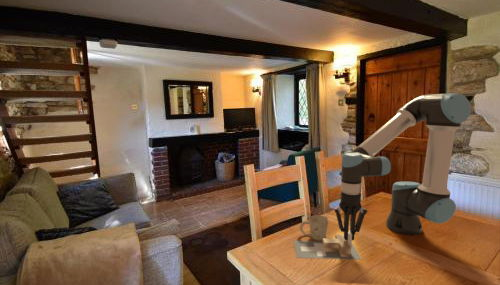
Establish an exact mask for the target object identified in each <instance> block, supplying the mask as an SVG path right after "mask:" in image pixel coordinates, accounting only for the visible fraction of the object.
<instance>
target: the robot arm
mask: <svg viewBox="0 0 500 285" xmlns="http://www.w3.org/2000/svg"><path fill="white" fill-rule="evenodd" d="M471 113H472V106H471V102H470V101H469V99H467V97H466V95H463V94H462V93H461V94H460V93H455V92H454V93H452V92H449V93H432V94H422V95H420V96H418V97H415V98H413V99H412V100H410V101H408V102H407V103H406V104H404V105H402V107H400V108H399V109H397V112H396V115H394V116H393V117H392V118H391V119H389V120H388V121H386V122H385V124H384V125H382V126H380V128H379V129H378V130H376V131H375V132H374V133H372V134H371V135H370V136H369V137H368V138H367V139H365V140H364V141H363V142H362V143H360V144H358V145H357V147H355V148H354V149H351V150H346V151H344V152H343V154H342V155H341V164H340V165H341V176H340V177H341V178H340V179H341V180H340V181H341V182H340V184H341V185H340V201H339V202H340V203H339V204H338V206H333V210H334V212H335V214H336V220H337V224H338V228H339V230H340V232H342V233H343V235H344V239H345V240H347V242H348V243H349V245H350V247H351V248H352V244H353V241H354V240H355V234H356V233H359V232H360V231H361V229H362V228H361V227H362V224H363V220H364V218H365V215H367V213H368V210H367V209H366V208H365V207H363V205H362V203H361V200H362V199H361V198H362V194H361V193H362V184H363V182H362V180H363V178H366V177H380V176H386V175H388V174H389V173H390V172H391V169H392V164H391V161H390V160H389V159H388V158H387V157H386V156H381V155H379V156H375V155H376V154H378V153H379V152H380V151H381V150H383V149H384V148H385V147H386V146H387V145H389V144H390V143H391V142H393V140H395V139H396V138H397V137H399V135H401V133H403V132H405V130H406V129H408V128H409V127H414V126H415V125H417V124H418V123H420V122H424V121H425V126H426V127H427V129H428V130H429V131H428V137H427V138H428V139H427V145H426V154H425V160H424V167H423V174H422V175H423V176H422V182H421V183H419V182H415V181H405V180H404V181H402V180H401V181H396V182H394V183H393V184H392V189H391V203H390V204H391V206H390V207H391V208H390V212H389V214H388V216H387V217H386V227H387V228H388V229H389V230H391V231H393V232H396V233H399V234H402V235H408V236H416V235H420V234H421V233H423V226H422V222H421V219H420V217H421V218H423V219H425V220H426V221H429V222H432V223H434V224H444V223H446V222H448V221H449V220H450V219H451V218H453V216H454V215H455V212H456V210H457V204H456V203H455V201H454V200H453V199H452V198H451V191H450V190H449V189H448V181H449V174H450V167H451V160H452V153H453V148H454V147H453V146H454V141H455V133H456V131H458V130H459V129H461V124H463V123H464V122H466V121H467V120H468V119H469V117H470V116H471ZM341 211H342V212H343V215H344V216H343V219H342V215H341ZM357 216H358V217H357ZM356 218H357V219H356ZM349 220H350V221H349Z"/></svg>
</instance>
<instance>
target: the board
mask: <svg viewBox="0 0 500 285" xmlns="http://www.w3.org/2000/svg"><path fill="white" fill-rule="evenodd" d="M293 246H294V252H295V258H297V259H324V260H326V259H327V260H328V259H329V260H359V261H362V260H363V259H362V258H361V256H360V253H359V252H358V251H357V249H356V247H355V246H354V244H353V243H352V248H351V257H341V255H340V253H339V252H324V250H323V247H322V246H323V240H321V241H319V240H293Z"/></svg>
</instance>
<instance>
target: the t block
mask: <svg viewBox="0 0 500 285" xmlns="http://www.w3.org/2000/svg"><path fill="white" fill-rule="evenodd" d="M322 241H323V246H322V247H323V250H324V252H339V253H340V255H341V257H351V247H350V245H349V243H348V242H347V240H345V239H344V234H335V236H334V237H333V238H327V237H326V238H323V240H322Z"/></svg>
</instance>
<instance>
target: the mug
mask: <svg viewBox="0 0 500 285" xmlns="http://www.w3.org/2000/svg"><path fill="white" fill-rule="evenodd" d="M308 220H309V221H308ZM308 220H306V221H303V222H301V223H300V225H299V231H300V232H301V233H302V235H305V236H310V237H311V239H313V240H314V241H323V238H327V232H328V226H329V219H328V217H325V216H323V215H317V214H316V215H315V214H314V215H312V216H310V217H309V219H308ZM305 225H309V229H310V233H309V232H308V233H307V232H305V230H304V229H303V227H304V226H305Z"/></svg>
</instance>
